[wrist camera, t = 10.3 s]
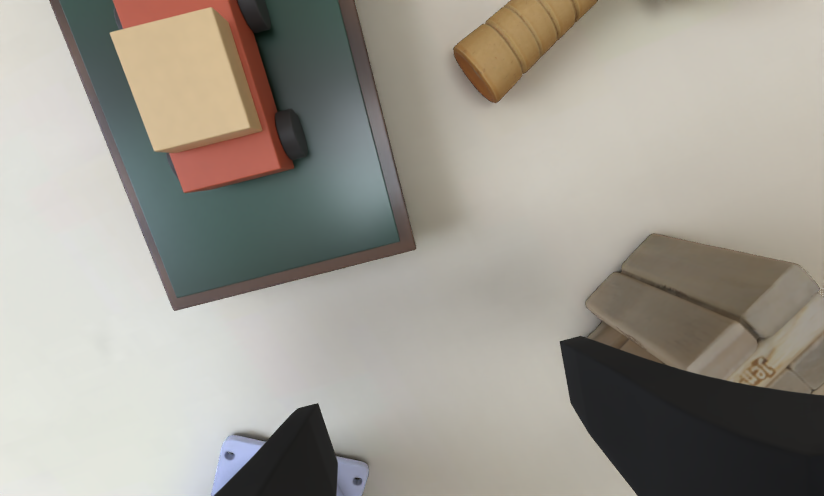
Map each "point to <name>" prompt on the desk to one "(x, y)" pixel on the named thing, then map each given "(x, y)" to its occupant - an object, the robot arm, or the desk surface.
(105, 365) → the desk surface
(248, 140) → the toy car
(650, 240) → the block tower
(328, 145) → the green topped wooden block
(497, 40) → the kendama
